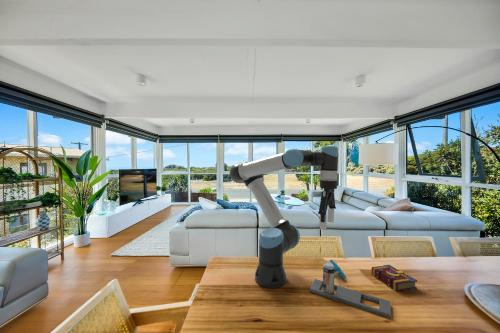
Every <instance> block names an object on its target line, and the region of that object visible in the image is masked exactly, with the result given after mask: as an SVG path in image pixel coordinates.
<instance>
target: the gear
mask: <svg viewBox="0 0 500 333" xmlns="http://www.w3.org/2000/svg"><path fill="white" fill-rule="evenodd" d="M329 263H332V264H333V265H334V267H335V273H338V274H340V276H341V277H342V278H343V279H345V278H346V277H347V276H346V275H345V273H344V272H343V271H342V269H341V267H340V266H339V265H338V264H337V263H336V262H335V261H334V260H333V259H330V260H329Z"/></svg>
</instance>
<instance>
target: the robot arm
mask: <svg viewBox="0 0 500 333" xmlns="http://www.w3.org/2000/svg"><path fill="white" fill-rule="evenodd" d="M296 167H320V169H319V170H320V171H319V173H320V174H319V179H320V180H319V187H320V189H323V191H321V194H320V196H321V197H320V200H319V202H320V203H319V208H318V211H317V215H319V229H320V230H323V231H326V230H327V223H334V218H335V209H337V206H336V200H335V190H336V189H337V188H338V176H339V175H340V174H339V172H338V169H339V148H338V146H334V145H325V146H324V145H323V146H321V147H320V150H303V149H297V148H291V149H288V150H286V151H284V152H282V153H278V154H275V155H271V156H269V157H267V156H266V157H264V158H261V159H257V160H254V161H250V162H247V163H246V162H244V161H242V162H239V163H235V164H234V165H232V166H231V167H230V170H229V177H230V179H231V180H232V182H233V183H237V184H244V185H245V187H246V188H247V189H248V190H250V192H252V195H253V196H254V198H255V200H256V202H257V203H258V205H259V207H260V209H261V211H262V213H263V215H264V217H265V218H266V221H267V223H268V225H269V226H270V227H269V228H265V229H263V230H262V231H260V233H259V238H258V265H257V267H256V268H255V273H254V280H255V282H256V283H257V284H258V285H259V286H261V287H263V288H267V289H268V288H269V289H277V288H280V287H283V286H284V285H285V284H287V274H286V271H285V265H284V254H285V253H287V252H288V251H291V250H292V249H295V248H296V247H297V246H298V244H299V243H300V240H301V235H300V231H299V229H298V227H296V226H295V225H293V224H291V223H290V221H289V220H288V219H285V218H284V216H283V215H282V213H281V211H280V209H279V207H278V205H277V204H276V202H275V201H274V198H273V197H272V195H271V193H270V192H269V190H268V188H267V186H266V184H265V178H264V176H265V174H270V173H273V172H278V171H283V170H287V169H292V168H296Z"/></svg>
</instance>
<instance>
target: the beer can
mask: <svg viewBox="0 0 500 333" xmlns="http://www.w3.org/2000/svg"><path fill="white" fill-rule="evenodd" d="M322 267H323V268H322V281H323V291H325V292H328V293H333V292H334V285H335V273H336V272H335V267H334V265H333V264H332V263H331V262H327V261H326V262H324V264H323V266H322Z"/></svg>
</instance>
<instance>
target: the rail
mask: <svg viewBox="0 0 500 333" xmlns="http://www.w3.org/2000/svg"><path fill="white" fill-rule="evenodd" d="M309 292H310V293H313V294H315V295H319V296H322V297H325V298H328V299H331V300H334V301H336V302H340V303H343V304H346V305H349V306H352V307H355V308H357V309H361V310H363V311H366V312H370V313H372V314H375V315H379V316H382V317H385V318H388V319H392V307H391V301H390V300H389V299H388V300H386V299H384V298H382V297H381V298H380V297H378V296H374V295H371V294H368V293H363V292H361V291H357V290H354V289H351V288H347V287H344V286H341V285H338V284H337V285H336V284H334V292H333V293H328V292H325V291H323V280H321V279H320V280H319V279H318V278H314V280H313V282H312V284H311V285H310V287H309ZM362 299H364V300H368V301H371V302H374V303H378V308H377V307H374V306H371V305H367V304H364V303H362Z"/></svg>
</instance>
